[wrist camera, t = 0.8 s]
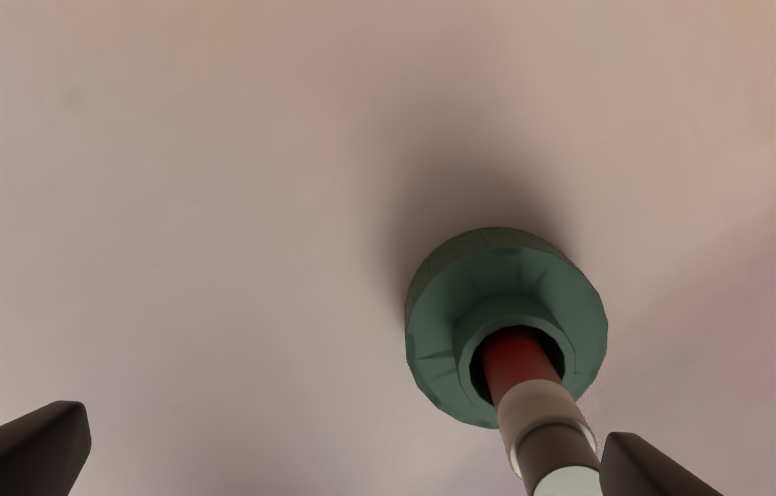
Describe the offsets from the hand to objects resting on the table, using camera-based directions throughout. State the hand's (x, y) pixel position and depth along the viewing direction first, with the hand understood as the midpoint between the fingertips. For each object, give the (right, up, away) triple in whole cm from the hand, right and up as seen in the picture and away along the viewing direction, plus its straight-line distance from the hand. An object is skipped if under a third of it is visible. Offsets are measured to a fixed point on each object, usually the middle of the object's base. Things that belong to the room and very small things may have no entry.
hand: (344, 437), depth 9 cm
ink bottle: (+5, 0, +14) cm, 15 cm away
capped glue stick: (+5, 0, +13) cm, 14 cm away
